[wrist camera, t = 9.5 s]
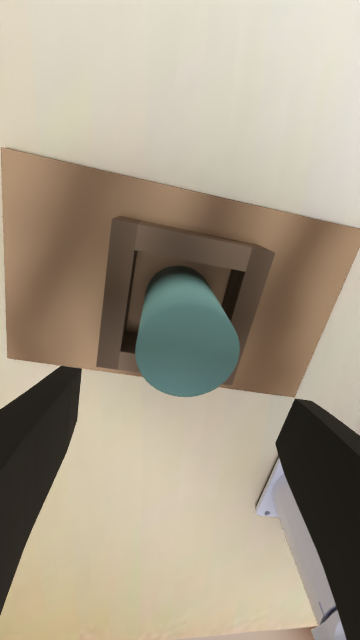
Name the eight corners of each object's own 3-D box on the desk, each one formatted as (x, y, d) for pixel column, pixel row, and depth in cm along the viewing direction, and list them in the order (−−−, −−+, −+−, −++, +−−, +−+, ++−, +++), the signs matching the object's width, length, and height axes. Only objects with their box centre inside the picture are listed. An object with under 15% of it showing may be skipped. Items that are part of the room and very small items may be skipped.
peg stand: (362, 230, 17) (401, 236, 14) (292, 394, 21) (311, 422, 18) (5, 148, 14) (-34, 136, 11) (10, 354, 19) (-17, 381, 16)
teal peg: (217, 272, 17) (252, 313, 10) (202, 332, 18) (225, 402, 12) (150, 259, 16) (143, 295, 10) (140, 323, 18) (128, 390, 11)
